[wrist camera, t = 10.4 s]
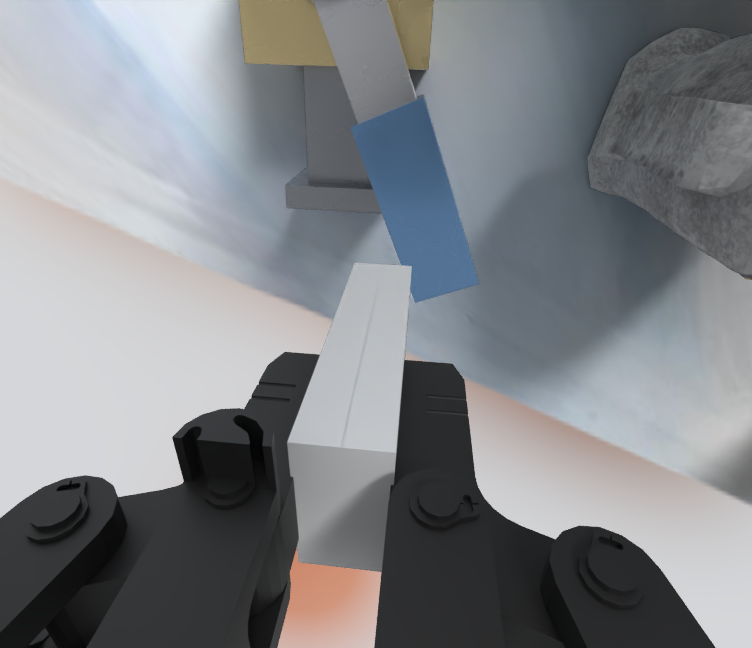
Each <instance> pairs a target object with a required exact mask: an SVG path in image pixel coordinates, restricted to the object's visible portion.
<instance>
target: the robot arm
mask: <svg viewBox="0 0 752 648" xmlns="http://www.w3.org/2000/svg"><path fill="white" fill-rule="evenodd" d="M411 271H412V266H403V265H387V264H372V263H357V262H355V263H354V266H353V269H352V271H351V274H350V277H349V279H348V282H347V284H346V287H345V290H344V292H343V295H342V298H341V300H340V303H339V306H338V308H337V311H336V314H335V316H334V319H333V322H332V324H331V327H330V330H329V332H328V335H327V338H326V340H325V343H324V346H323V348H322V351H321V354H320V355H316V354H304V353H291V352H284V353H283V354H282V355H281V356H279V357H278V358H277V359H275V360H274V361H273V362H271V363H270V364H269V365H268V366H267V368H266V370H265V372H264V373H263V375H262V377H261V379H260V381H259V385H257V387H256V389H255V390H254V392H253V394H252V398H251V399H250V400H249V401H248V403H247V405H246V407H245V409H240V408H239V409H220V410H217V411H214V412H210V413H206V414H203V415H201V416H199V417H197V418H195V419H194V420H192V421H190V422H188V423H186V424H185V425H184V426H183V427H182V428H181V429H180V430H179V431H178V432H177V433H176V434H175V435H174V436H173V442H174V445H175V449H176V453H177V456H178V460H179V464H180V468H181V471H182V475H183V479H184V482H183V484H181V485H179V486H176V487H172V488H168V489H164V490H159V491H153V492H147V493H141V494H136V495H129V496H124V497H118V496H117V494H116V491H115V489H114V486H113V485H112V484H110V483H109V482H107V481H106V480H105V479H103V478H99V477H92V476H80V477H73V478H66V479H63V480H60V481H58V482H55V483H53V484H50V485H48V486H45V487H43V488H41V489H40V490H38V491H37V492H35V493H33V494H32V495H30V496H29V497H27V498H26V499H24V500H23V501H21V502H20V503H19V504H17V505H16V506H15V507H14V508H13V509H11V510H10V511H9V512H8V513H6V514H5V515H4V516H3V517H1V518H0V648H277V646H278V642H279V639H280V634H281V631H282V626H283V623H284V619H285V615H286V611H287V607H288V604H289V600H290V587H291V586H290V585H291V582H290V569H291V566H292V562H293V558H294V555H295V551H296V547H297V551H298V561H299V562H302V563H310V564H318V565H328V566H336V567H344V568H353V569H362V570H370V571H380V572H382V574H381V585H380V596H379V606H378V617H377V626H376V637H375V647H374V648H715V646H714V645H713V643H712V642H711V641H710V639H709V638H708V636H707V635H706V633H705V632H704V631H703V629H702V628H701V626H700V625H699V624H698V622H697V621H696V619H695V618H694V616H693V615H692V613H691V612H690V611H689V609H688V608H687V606H686V605H685V603H684V602H683V601H682V599H681V598H680V596H679V595H678V594H677V592H676V591H675V589H674V588H673V586H672V585H671V584H670V582H669V581H668V579H667V578H666V577H665V575H664V574H663V572H662V571H661V569H660V568H659V567H658V566H657V565H656V564H655V563H654V562H653V560H652V559H651V558H650V557H649V556H648V555H647V554H646V553H645V552H644V551H643V550H642V549H641V548H639V547H638V546H636V545H635V544H633V543H632V542H631V541H629V540H628V539H626V538H625V537H623V536H622V535H619V534H616V533H614V532H611V531H609V530H606V529H603V528H601V527H589V526H577V527H574V528H571V529H568V530H566V531H563V532H562V533H561V534H560V535H559V537H558V538H557V539H556V540H555V539H553V538H550V537H548V536H545V535H542V534H540V533H538V532H535V531H533V530H530V529H527V528H525V527H522V526H520V525H518V524H516V523H514V522H512V521H510V520H508V519H506V518H505V517H504V516H502V515H501V514H500V513H498V512H497V511H496V510H494V509H493V508H492V507H491V505H490V504H489V503H488V502H487V501H486V500H485V499H484V497H483V495H482V494H481V492H480V490H479V488H478V486H477V482H476V478H475V471H474V462H473V454H472V444H471V436H470V427H469V419H468V409H467V401H466V391H465V382H464V379H463V378H462V376H461V375H460V373H459V372H458V371H457V369H456V368H455V367H454V365H453V364H448V363H435V362H423V361H409V360H405V353H406V339H407V325H408V312H409V298H410V284H411Z"/></svg>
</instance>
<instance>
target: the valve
mask: <svg viewBox="0 0 752 648" xmlns="http://www.w3.org/2000/svg"><path fill="white" fill-rule="evenodd" d="M433 1H434V0H388V3H389V7H390V10H391V13H392V17H393V20H394V23H395V26H396V30H397V33H398V36H399V40H400V43H401V46H402V50H403V53H404V56H405V60H406V63H407V66H408V69H412V70H428V68H429V55H430V41H431V28H432V15H433ZM239 7H240V17H241V27H242V37H243V47H244V58H245V63H251V64H272V65H293V66H303V73H304V96H305V119H306V142H307V165H308V167H307V168H305V169H304V170H303V171H302V172H301V173H299V174H298V175H297V176H296V177H295V178H293V179H292V180H291V181H290V182H289V183H287V184H286V185H285V189H286V204H287V208H295V209H313V210H332V211H351V212H369V213H382V212H381V209H380V206H379V204H378V201H377V198H376V196H375V193H374V190H373V187H372V185H371V182H370V179H369V177H368V174H367V171H366V169H365V166H364V163H363V161H362V158H361V155H360V153H359V150H358V147H357V145H356V142H355V139H354V136H353V134H352V131H351V128H350V127H352V126H353V125H354V124H356V123H357V119H356V116H355V114H354V111H353V108H352V105H351V103H350V100H349V97H348V94H347V92H346V89H345V86H344V83H343V81H342V78H341V75H340V72H339V70H338V67H337V64H336V61H335V59H334V56H333V53H332V50H331V48H330V45H329V42H328V39H327V37H326V34H325V31H324V28H323V26H322V23H321V20H320V17H319V15H318V12H317V9H316V6H315V5H314V4H312V3H310V2H308V1H306V0H239Z"/></svg>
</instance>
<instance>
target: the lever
mask: <svg viewBox="0 0 752 648" xmlns="http://www.w3.org/2000/svg"><path fill="white" fill-rule="evenodd" d="M306 1H308V2H310V3H312V4H314V5H315V6H316V9H317V12H318V15H319V17H320V20H321V23H322V26H323V28H324V31H325V34H326V37H327V39H328V42H329V45H330V48H331V50H332V53H333V56H334V59H335V61H336V64H337V67H338V70H339V72H340V75H341V78H342V81H343V83H344V86H345V89H346V92H347V94H348V97H349V100H350V103H351V105H352V108H353V111H354V114H355V116H356V119H357V123H356V124H354V125H353V126H352V127H350V128H351V131H352V134H353V136H354V139H355V142H356V145H357V147H358V150H359V153H360V155H361V158H362V161H363V163H364V166H365V169H366V171H367V174H368V177H369V179H370V182H371V185H372V187H373V190H374V193H375V196H376V198H377V201H378V204H379V206H380V209H381V212H382V214H383V217H384V220H385V222H386V225H387V228H388V230H389V233H390V236H391V239H392V241H393V244H394V247H395V249H396V252H397V255H398V257H399V260H400V263H401V265H403V266H412V271H411V284H410V290H411V292H412V295H413V298H414V300H415V303H416V302H419V301H423V300H426V299H429V298H433V297H436V296H439V295H443V294H446V293H450V292H453V291H456V290H460V289H463V288H466V287H470V286H473V285H477V284H479V282H478V278H477V274H476V271H475V267H474V263H473V260H472V256H471V253H470V249H469V246H468V243H467V239H466V236H465V233H464V229H463V226H462V222H461V219H460V216H459V212H458V209H457V205H456V202H455V199H454V195H453V192H452V188H451V185H450V182H449V178H448V175H447V171H446V168H445V165H444V161H443V158H442V154H441V151H440V148H439V144H438V141H437V138H436V134H435V131H434V127H433V124H432V121H431V117H430V114H429V110H428V107H427V104H426V100H425V97H424V94H423V95H421V96H418V97H417V96H416V93H415V89H414V86H413V83H412V79H411V76H410V73H409V70H408V66H407V63H406V60H405V56H404V53H403V50H402V46H401V43H400V40H399V36H398V33H397V30H396V26H395V23H394V20H393V17H392V13H391V10H390V7H389V3H388V0H306Z"/></svg>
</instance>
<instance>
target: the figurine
mask: <svg viewBox="0 0 752 648" xmlns="http://www.w3.org/2000/svg"><path fill="white" fill-rule="evenodd" d="M587 164H588V174H589V181H590V188H592V189H595V190H598V191H601V192H603V193H606V194H610V195H614V196H619V197H623V198H626V199H627V200H629V201H630V202H631V203H633V204H635V205H637V206H639V207H641V208H643V209H645V210H647V211H648V212H649V213H650V214H651V215H652V216H653V217H654V218H655V219H657V220H658V221H660V222H661V223H663V224H664V225H665V226H667V227H668V228H669V229H671V230H672V231H674V232H675V233H677V234H678V235H680V236H681V237H683V238H685V239H686V240H687V241H689V242H690V243H692V244H693V245H694V246H696V247H697V248H698V249H700V250H701V251H703V252H705V253H706V254H708V255H709V256H711V257H713V258H714V259H716V260H717V261H719V262H720V263H722V264H723V265H725V266H726V267H727V268H729V269H730V270H732V271H735V272H737V273H739V274H740V275H741V276H743V277H744V278H745V279H749V280H752V34H747V35H741V36H739V37H736V38H733V39H731V38H730V37H729V36H728V35H727V34H723V33H718V32H714V31H709V30H705V29H700V28H678V29H676V30H674V31H672V32H670V33H668V34H666V35H664V36H662V37H660V38H658V39H657V40H655V41H653V42H651V43H650V44H648V45H647V46H646V47H644V48H643V49H642V50H640V51H639V52H638V53H637V54H635V55H634V56H633V57H632V58H630V59H629V60H628V61H627V63H626V65H625V68H624V70H623V72H622V75H621V77H620V79H619V82H618V84H617V86H616V88H615V90H614V92H613V95H612V97H611V100H610V102H609V105H608V107H607V110H606V112H605V115H604V117H603V120H602V122H601V124H600V127H599V129H598V132H597V134H596V137H595V139H594V142H593V145H592V147H591V150H590V152H589V155H588V158H587Z"/></svg>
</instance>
